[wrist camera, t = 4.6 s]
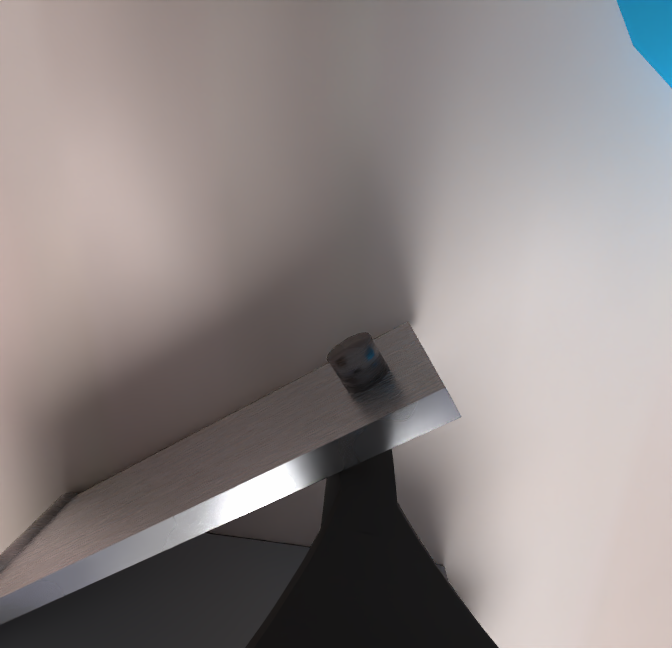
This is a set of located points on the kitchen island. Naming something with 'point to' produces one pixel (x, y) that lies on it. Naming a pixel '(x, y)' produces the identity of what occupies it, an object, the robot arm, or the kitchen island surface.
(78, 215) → the kitchen island surface
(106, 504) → the side door
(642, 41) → the mug
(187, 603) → the camera body
